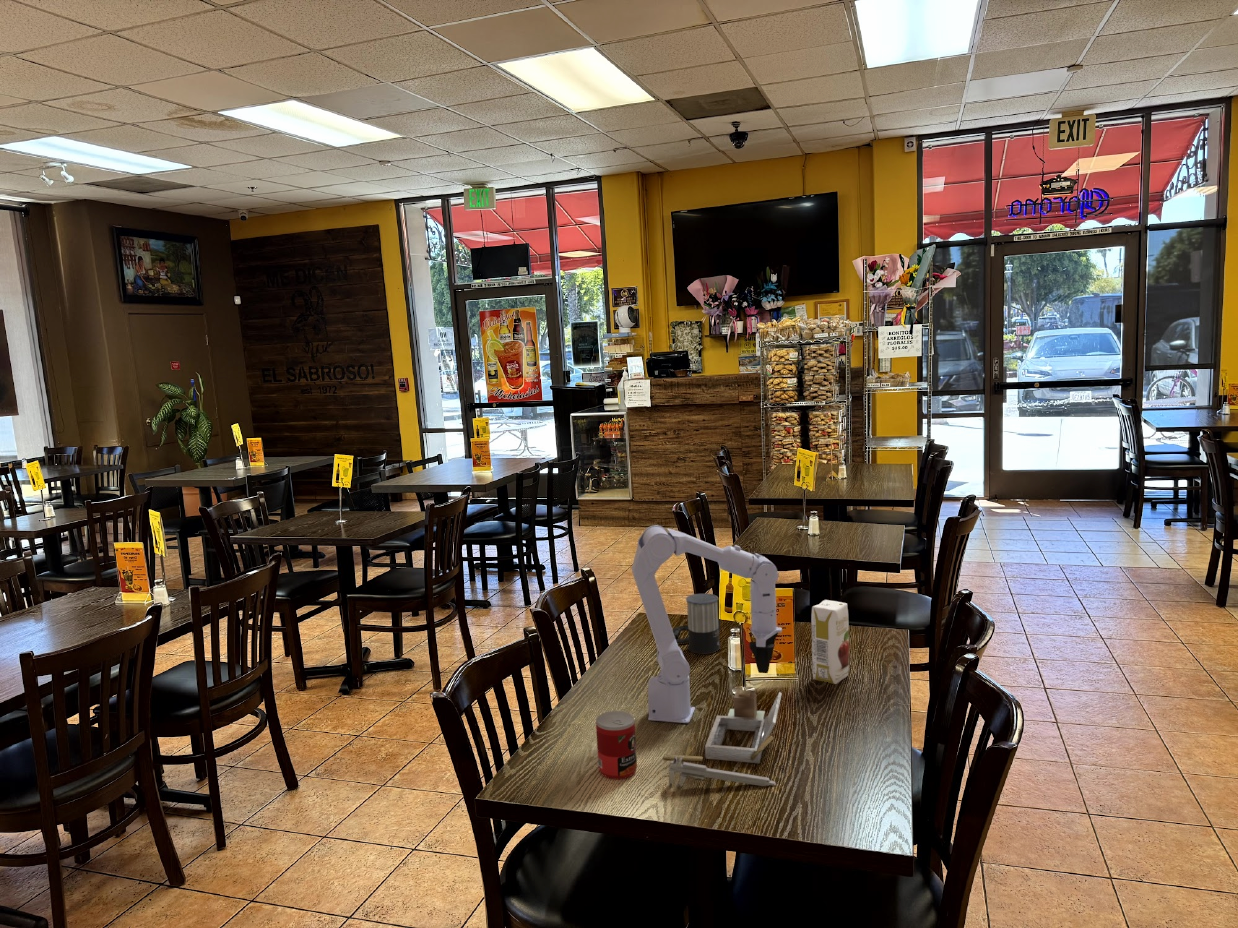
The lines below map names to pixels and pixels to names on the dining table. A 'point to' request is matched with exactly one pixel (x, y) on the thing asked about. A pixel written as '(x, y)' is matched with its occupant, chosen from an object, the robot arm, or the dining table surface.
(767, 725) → the propped lid
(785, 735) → the dining table surface
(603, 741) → the canned food
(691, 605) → the milk frother
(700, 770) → the caliper
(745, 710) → the walnut block
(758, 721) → the aluminium case
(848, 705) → the dining table surface
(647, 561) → the robot arm
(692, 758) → the brass bar
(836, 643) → the juice carton
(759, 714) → the green rubber mat
